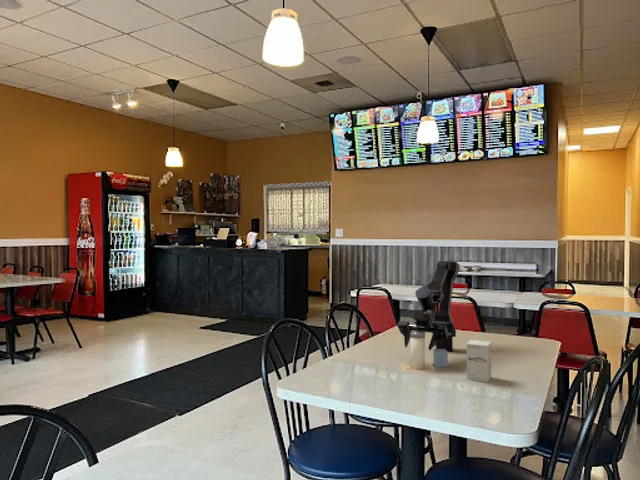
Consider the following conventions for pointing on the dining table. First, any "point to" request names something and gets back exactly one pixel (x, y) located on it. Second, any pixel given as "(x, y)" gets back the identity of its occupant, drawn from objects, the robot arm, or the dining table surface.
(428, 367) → the letter card
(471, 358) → the supplement box
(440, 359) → the blue block
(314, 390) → the dining table surface
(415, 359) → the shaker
